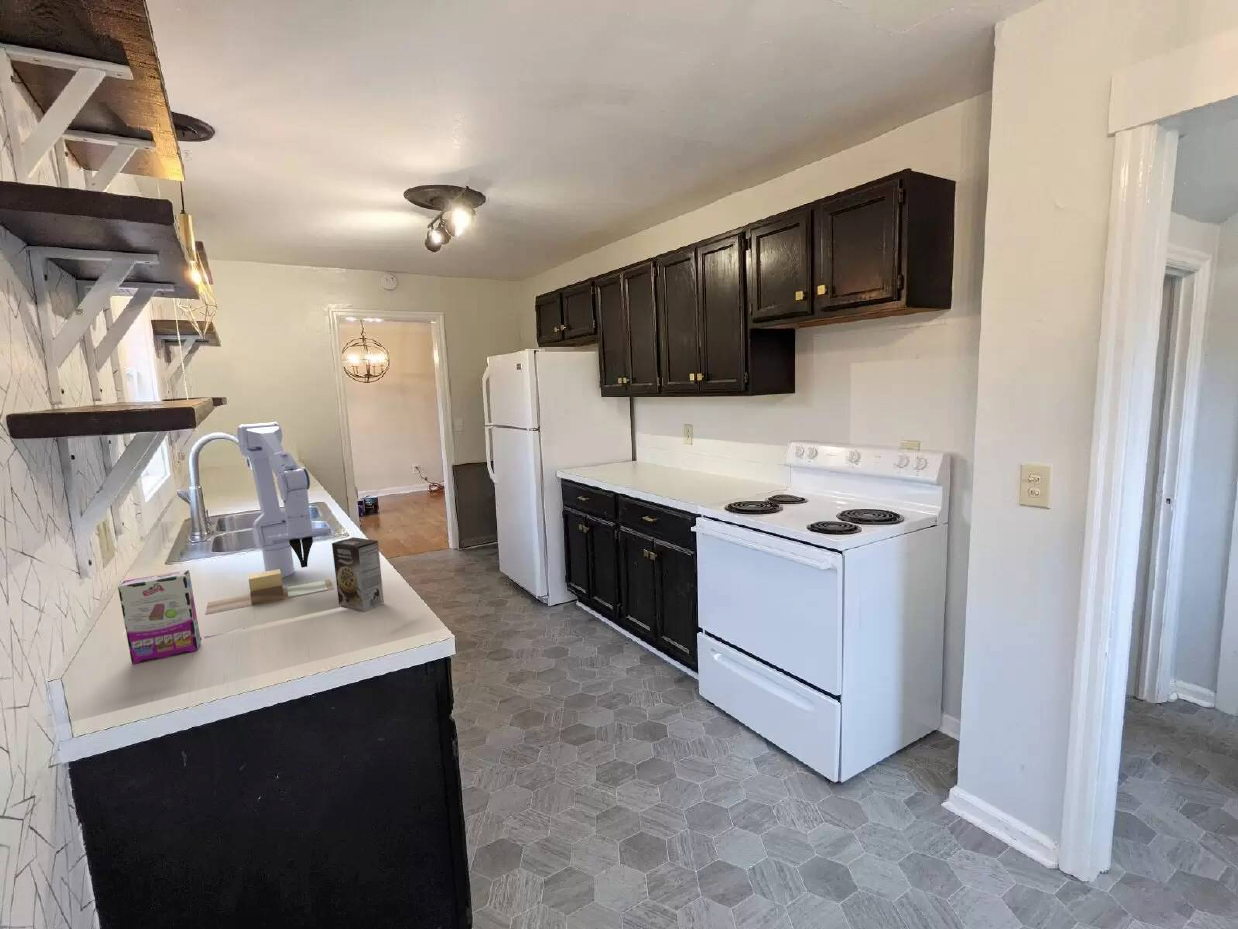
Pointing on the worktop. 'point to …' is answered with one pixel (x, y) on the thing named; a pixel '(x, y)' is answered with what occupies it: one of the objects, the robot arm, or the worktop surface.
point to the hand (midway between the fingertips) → (304, 566)
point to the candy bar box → (159, 616)
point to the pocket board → (268, 596)
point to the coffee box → (358, 573)
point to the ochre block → (265, 580)
